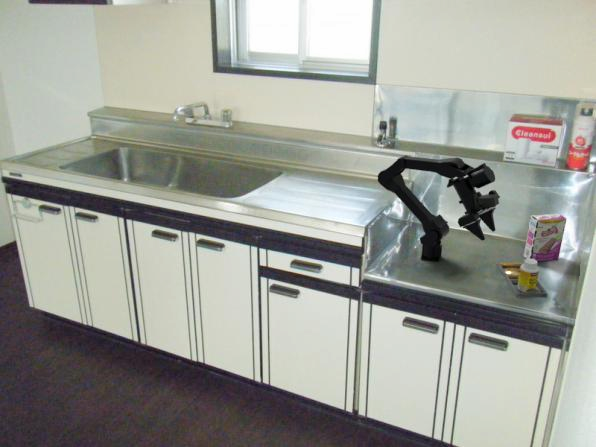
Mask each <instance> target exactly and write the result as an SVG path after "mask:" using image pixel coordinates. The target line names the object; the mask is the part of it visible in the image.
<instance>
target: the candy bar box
mask: <svg viewBox="0 0 596 447" xmlns="http://www.w3.org/2000/svg"><path fill="white" fill-rule="evenodd" d="M529 217H530V218H529V223H528V229H527V235H526V240H525V241H526V242H525V246H524V250H523V251H524V252H523V258H524V260H525V259H534V260H536V261H537V262H538V263H542V262H551V261H553V262H554V261H559V257H560V252H561V247H562V243H563V238H564V233H565V229H566V225H567V218H566V217H565V216H564V215H561V213H552V214H551V213H549V214H548V213H547V214H537V215H534V214H532V215H530V216H529Z"/></svg>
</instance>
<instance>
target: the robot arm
mask: <svg viewBox="0 0 596 447" xmlns="http://www.w3.org/2000/svg"><path fill="white" fill-rule="evenodd" d="M405 170H416V171H421V172H431V173H436V174H437V175H438V176H440V177H444V178H447V179H448V182H447V185H446V188H451V187H453V188H454V190H455V192H456V194H457V196H458V198H459V201H458V204H459V205H461V204H462V205H463V207H464V209H465V211H464V214H463V215H462V216H460V217H459V218H458V220H457V224H458V226H459V228H462V229H465V230H467V231H468V232H470V233H472V234H473V236H475V237H477V238H478V239H479V240H481V241H485V240H486V238H485V234H484V232H483V230H482V227H481V221H482V222H483V223H484V224H485V226H487V228H488V229H489V230H490V231H491V232H492V233H493V232H496V225H495V219H494V213H495V210H496V209H497V207H496V206H497V205H499V204H500V201H499V199H500V198H501V196H500V195H499V193H498V192H497V190H495V189H492V190H490V191H489V192H488V193H486V194H482V193H481V191H477V190H476V189H478V190H479V189H481V188H484V187H485V186H488V185H490V184H492V183H494V182H495V181H496V174H495V172H494V171H493V169H491V168H490V166H488V165H487V164H486V163H485V162H484V163H481V164H480V165H478V166H476V167H474V166H471V165H469V164H467V163H465V162H464V160H463V159H462V158H460V157H447V158H442V159H437V158H436V159H435V158H427V157H417V156H411V155H410V156H409V155H407V154H406V155H403V156H400V157H398V158H397V159H396V161H394V162H393V163H392V164H391V165H389V166H388V167H386V168H385V169H383V170H381V171H380V172H379V173H378V175H377V182H378V184H379V185H381V186H382V187H383V188H384V189H385V190H386V191H389V192H391V193H393V194H395V195H396V197H397V198H398V199H399V200H400V201H401V202H402V203H403V204H404V205H405V207H406V208H407V209H408V210H409V211H410V212H411V213H412V214H413V216H414V217H416V218H417V220H418V221H419V223H421V228H422V229H423V230H422V231H423V232H424V235H422V236H420V238H419V242H420V244H421V245H422V246H421V255H420V260H423V261H424V260H425V261H432V262H440V261H441V260H440V259H441V258H442V252H443V244H442V240H444V239H445V238H446V237H447V236H448V234H449V233H450V226H449V224H448V223H449V221H447V220H445V219H444V217H443V215H442V214H437V215H434V214H433V213H431V211H429V209H428V208H427V207H426V206H425V205H424V204H423V202H421V201H420V199H419V197H417V196H416V195H415V193H413V191H412V190H411V189H410V188H409V187H408V186H407V185H406V183H405V180H404V176H403V174H402V173H403V172H405Z"/></svg>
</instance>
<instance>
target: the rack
mask: <svg viewBox="0 0 596 447" xmlns="http://www.w3.org/2000/svg"><path fill="white" fill-rule="evenodd" d="M495 263H496V264H495V266H496V268H497V269H498V270H499V272H500V275H502V276H501V277H503V279H504V280H505V282H506V283H507V285H508V286H509V288H510V289H511V292H512V293H513V294H514V296H515V298H519V297H521V298H522V297H526V298H527V297H528V298H533V297H535V298H537V297H538V298H539V297H540V298H548V293H547V291H546V290H545V289H544V287H543V286H542V284H541V283H540V282H539V280H538V279H537V284H536V289H537V290H539V292H536V291H534V292H522V291H519V290H518V289H516V287H515V285H514V284H518V279H519V273H520V267H521V265H522V264H524V262H497V261H496V262H495ZM504 267H505V269H504Z"/></svg>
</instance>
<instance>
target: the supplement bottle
mask: <svg viewBox="0 0 596 447" xmlns="http://www.w3.org/2000/svg"><path fill="white" fill-rule="evenodd" d="M523 263H524V264H522V265H521V267H519V269H520V273H519V279H518V283H517V290H518V291H519V292H536V289H537V286H536V284H537V280H538V277H539V272H540V268H539V266H538V263H539V262H537V261H536V260H534V259H525V258H524V260H523Z"/></svg>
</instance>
